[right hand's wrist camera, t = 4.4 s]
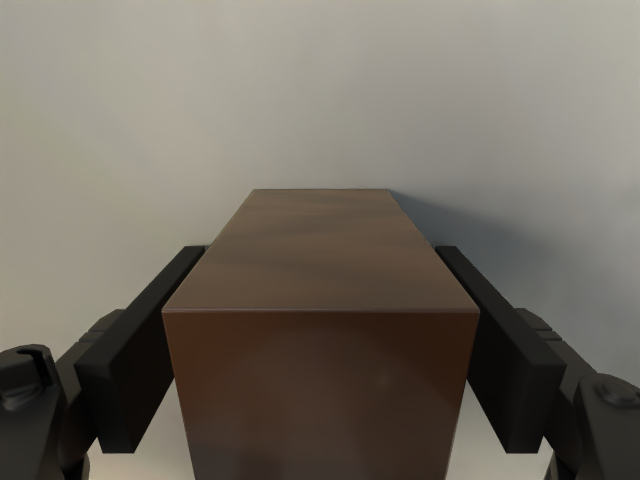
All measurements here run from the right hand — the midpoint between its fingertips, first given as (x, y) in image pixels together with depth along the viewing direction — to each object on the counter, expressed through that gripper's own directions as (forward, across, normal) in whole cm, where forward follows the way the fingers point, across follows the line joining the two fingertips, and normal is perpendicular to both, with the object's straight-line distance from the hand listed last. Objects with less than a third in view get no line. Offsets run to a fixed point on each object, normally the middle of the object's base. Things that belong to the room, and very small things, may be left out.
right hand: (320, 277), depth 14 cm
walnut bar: (0, 0, -10) cm, 10 cm away
